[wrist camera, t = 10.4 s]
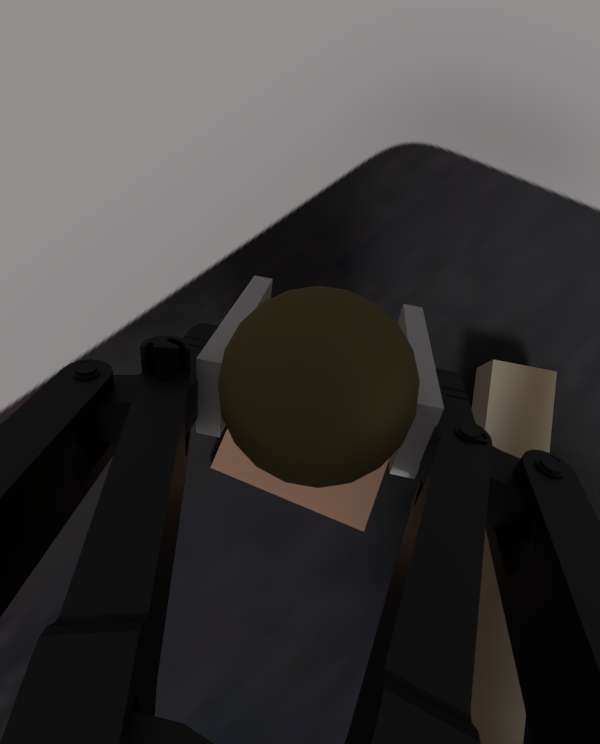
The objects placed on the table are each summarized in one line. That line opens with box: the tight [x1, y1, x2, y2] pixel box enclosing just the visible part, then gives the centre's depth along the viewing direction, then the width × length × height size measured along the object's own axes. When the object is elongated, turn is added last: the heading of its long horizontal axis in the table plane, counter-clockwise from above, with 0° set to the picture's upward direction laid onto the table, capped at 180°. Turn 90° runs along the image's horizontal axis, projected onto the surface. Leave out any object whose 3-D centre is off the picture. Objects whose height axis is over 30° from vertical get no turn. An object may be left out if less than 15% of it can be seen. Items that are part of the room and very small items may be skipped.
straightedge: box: [471, 359, 557, 744], centre depth 19 cm, size 3×20×2 cm, turn 168°
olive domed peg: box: [218, 286, 420, 488], centre depth 15 cm, size 6×6×11 cm
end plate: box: [211, 428, 389, 532], centre depth 21 cm, size 8×8×1 cm
